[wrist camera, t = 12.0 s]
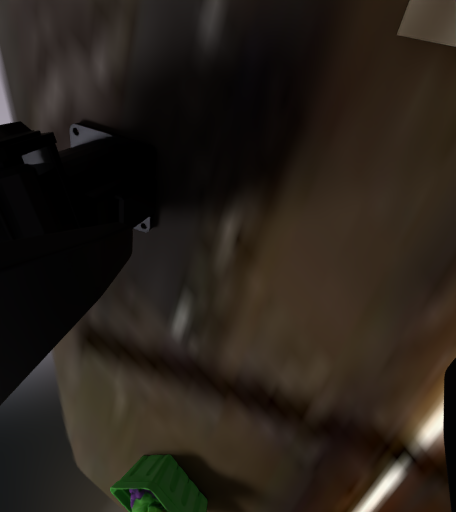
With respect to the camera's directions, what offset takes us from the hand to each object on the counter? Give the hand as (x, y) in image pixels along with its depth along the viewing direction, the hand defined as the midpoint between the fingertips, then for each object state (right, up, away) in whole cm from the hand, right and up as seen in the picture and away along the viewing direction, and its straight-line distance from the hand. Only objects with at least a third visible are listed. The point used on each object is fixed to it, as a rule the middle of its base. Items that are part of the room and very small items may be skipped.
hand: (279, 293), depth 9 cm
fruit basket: (-8, -27, +35) cm, 45 cm away
